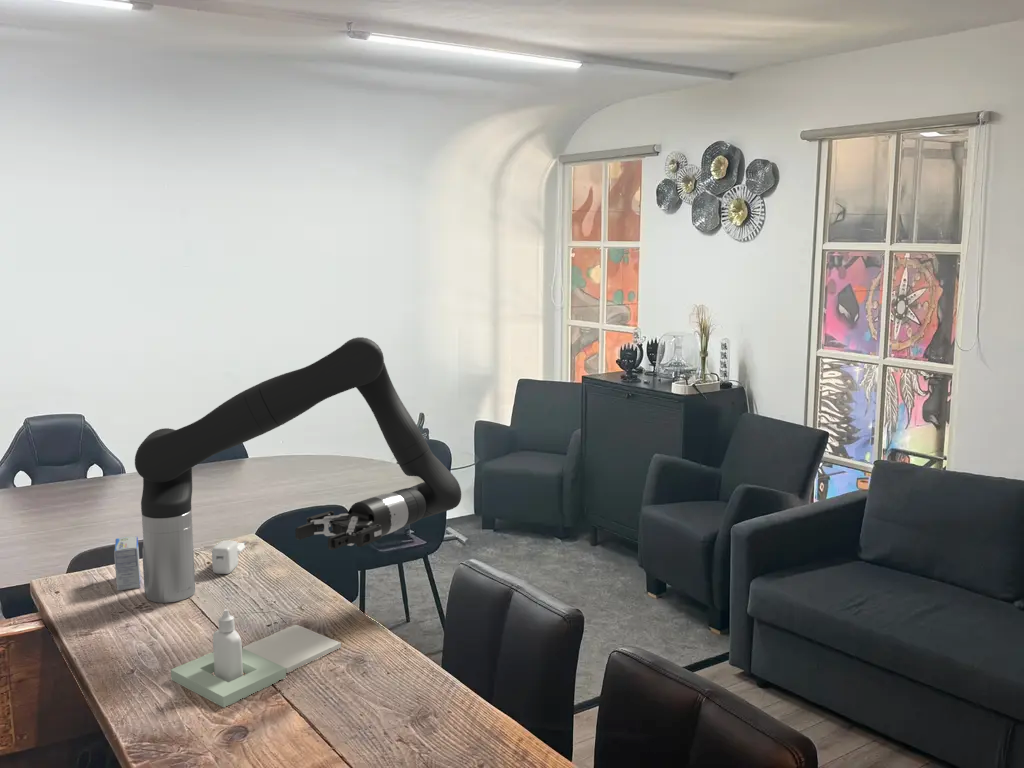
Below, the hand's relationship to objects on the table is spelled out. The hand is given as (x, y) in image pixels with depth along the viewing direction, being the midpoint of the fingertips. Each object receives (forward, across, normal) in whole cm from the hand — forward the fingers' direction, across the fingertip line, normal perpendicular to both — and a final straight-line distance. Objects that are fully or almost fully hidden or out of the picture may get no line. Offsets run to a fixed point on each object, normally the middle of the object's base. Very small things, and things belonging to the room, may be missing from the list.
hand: (312, 539), depth 162 cm
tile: (+5, 0, +19) cm, 20 cm away
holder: (+18, 0, +19) cm, 26 cm away
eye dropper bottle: (+18, 0, +19) cm, 26 cm away
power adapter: (-13, -42, +19) cm, 48 cm away
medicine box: (+6, -50, +19) cm, 54 cm away
